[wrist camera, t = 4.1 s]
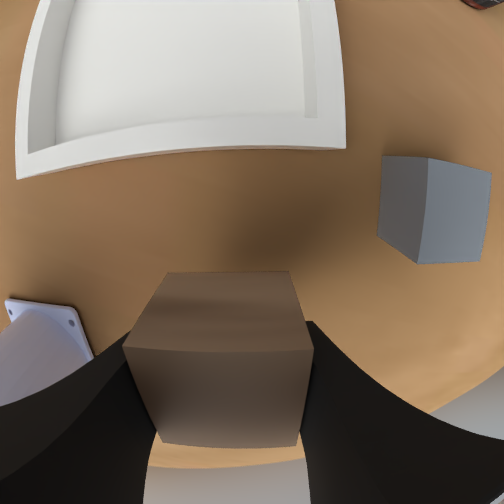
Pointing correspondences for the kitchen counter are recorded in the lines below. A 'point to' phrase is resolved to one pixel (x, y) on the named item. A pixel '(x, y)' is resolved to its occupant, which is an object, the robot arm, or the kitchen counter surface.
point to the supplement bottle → (483, 3)
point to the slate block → (433, 209)
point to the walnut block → (223, 359)
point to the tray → (177, 80)
